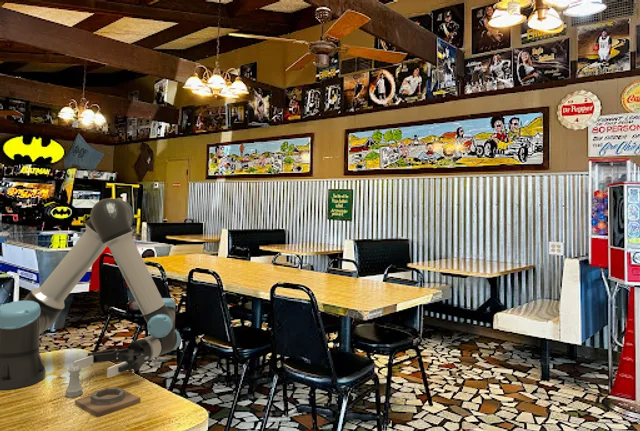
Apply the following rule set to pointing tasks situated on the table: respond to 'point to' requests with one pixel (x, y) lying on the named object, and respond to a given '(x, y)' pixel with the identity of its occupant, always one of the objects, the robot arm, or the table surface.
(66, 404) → the table surface
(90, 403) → the socket board
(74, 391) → the rook chess piece
